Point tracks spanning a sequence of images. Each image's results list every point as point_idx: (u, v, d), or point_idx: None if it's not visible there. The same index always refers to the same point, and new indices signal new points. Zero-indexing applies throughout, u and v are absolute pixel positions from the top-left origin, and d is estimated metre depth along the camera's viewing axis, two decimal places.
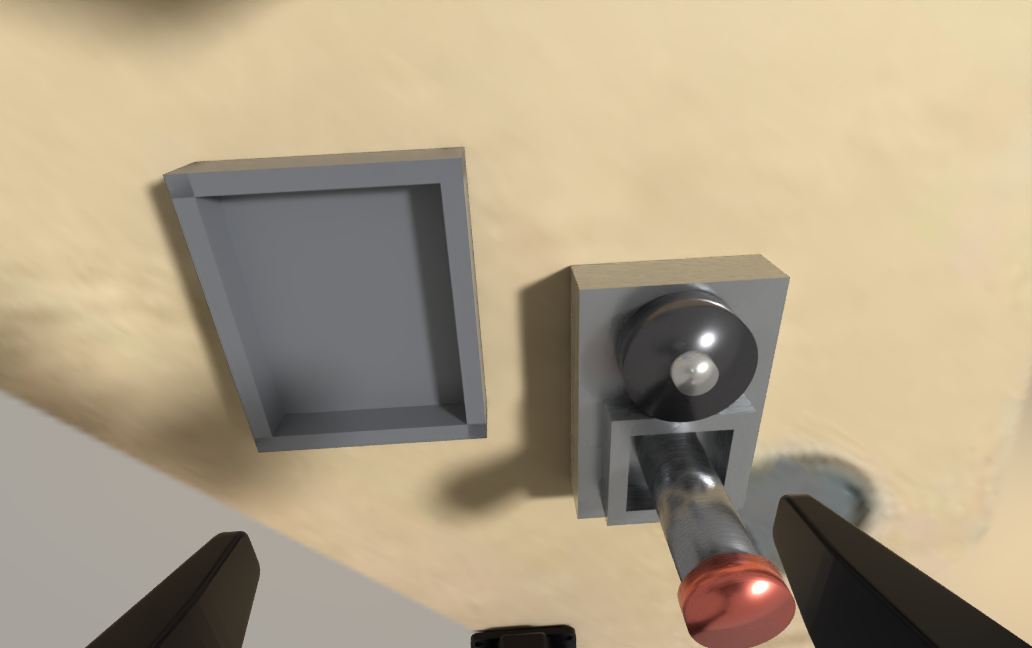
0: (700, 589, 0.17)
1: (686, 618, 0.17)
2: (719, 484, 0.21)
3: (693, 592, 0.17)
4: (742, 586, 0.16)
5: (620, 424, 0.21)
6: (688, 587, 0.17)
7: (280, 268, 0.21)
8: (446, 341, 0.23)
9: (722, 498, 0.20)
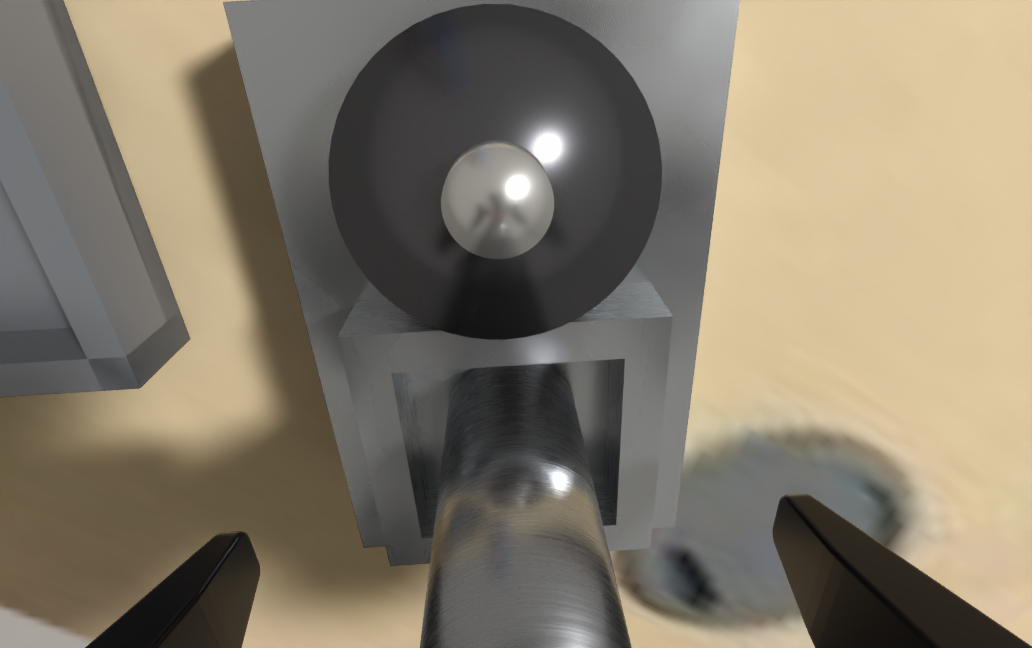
0: None
1: None
2: (573, 482, 0.09)
3: None
4: None
5: (360, 345, 0.09)
6: None
7: None
8: None
9: (565, 518, 0.08)
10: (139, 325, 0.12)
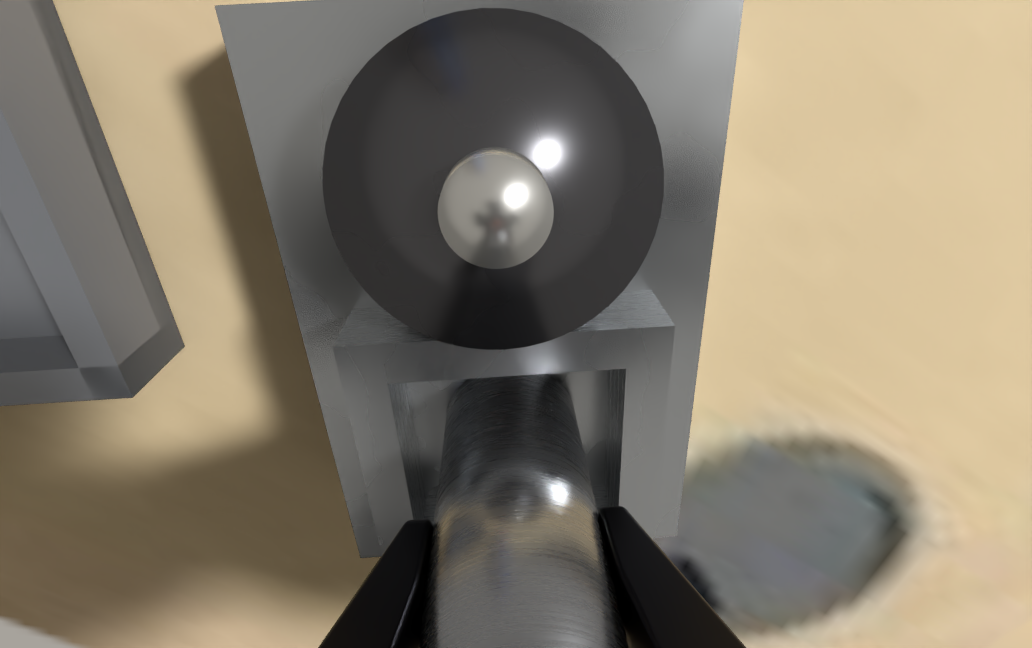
0: None
1: None
2: (574, 496, 0.08)
3: None
4: None
5: (356, 355, 0.09)
6: None
7: None
8: None
9: (565, 534, 0.07)
10: (132, 333, 0.12)
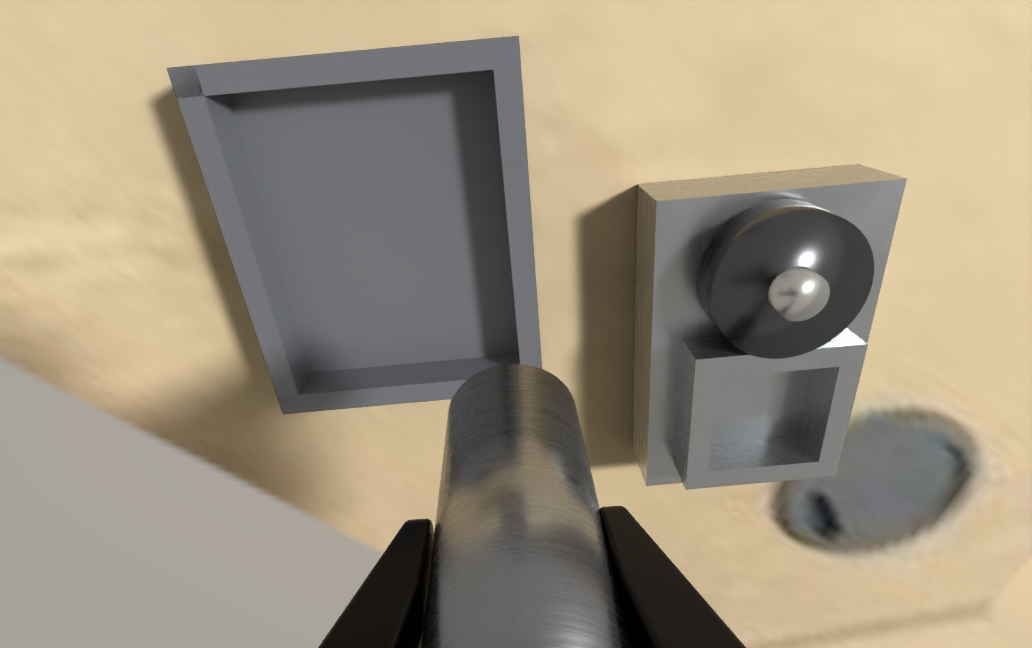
0: None
1: None
2: (576, 495, 0.08)
3: None
4: None
5: (705, 363, 0.18)
6: None
7: (304, 193, 0.19)
8: (494, 279, 0.20)
9: (569, 534, 0.07)
10: None
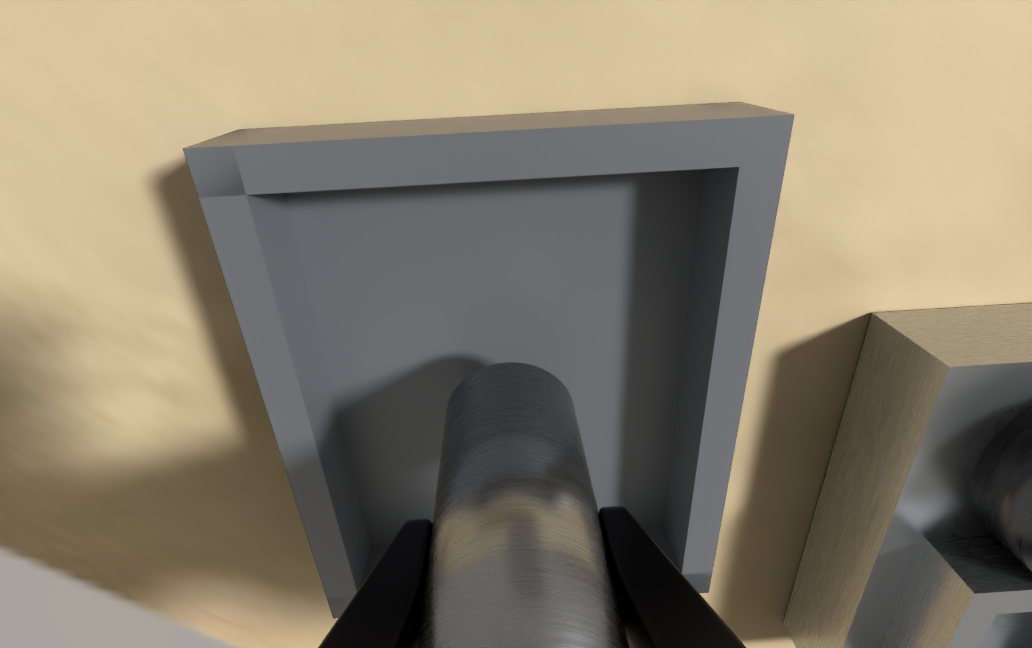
0: None
1: None
2: (573, 493, 0.08)
3: None
4: None
5: (986, 597, 0.12)
6: None
7: (385, 322, 0.12)
8: (648, 436, 0.14)
9: (566, 531, 0.07)
10: None
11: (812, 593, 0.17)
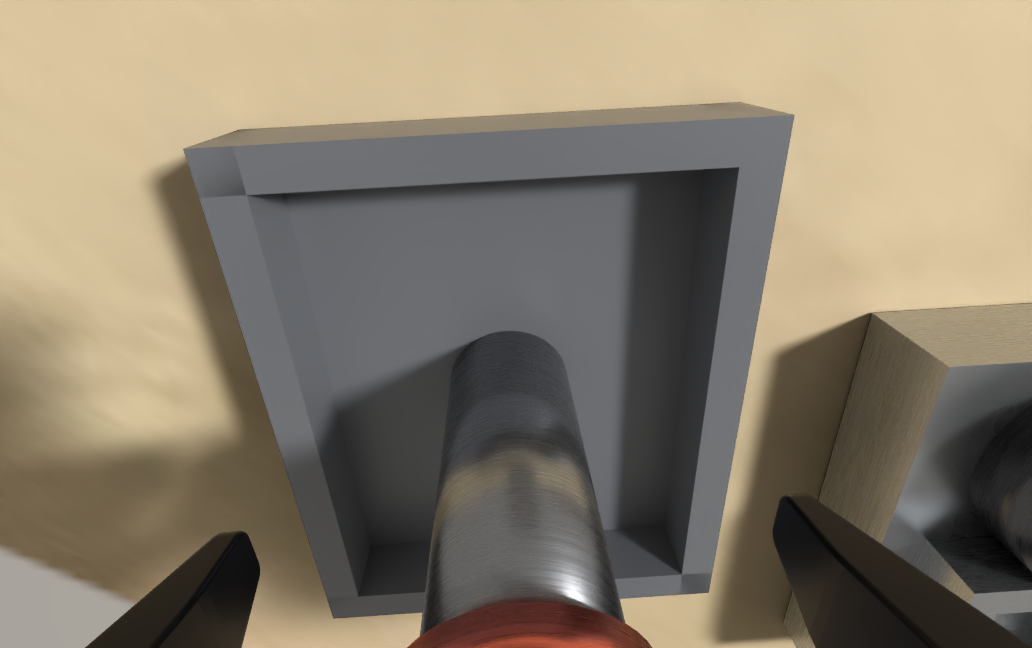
0: None
1: None
2: (564, 435, 0.10)
3: None
4: None
5: (986, 597, 0.12)
6: None
7: (385, 322, 0.12)
8: (648, 436, 0.14)
9: (556, 462, 0.09)
10: None
11: None
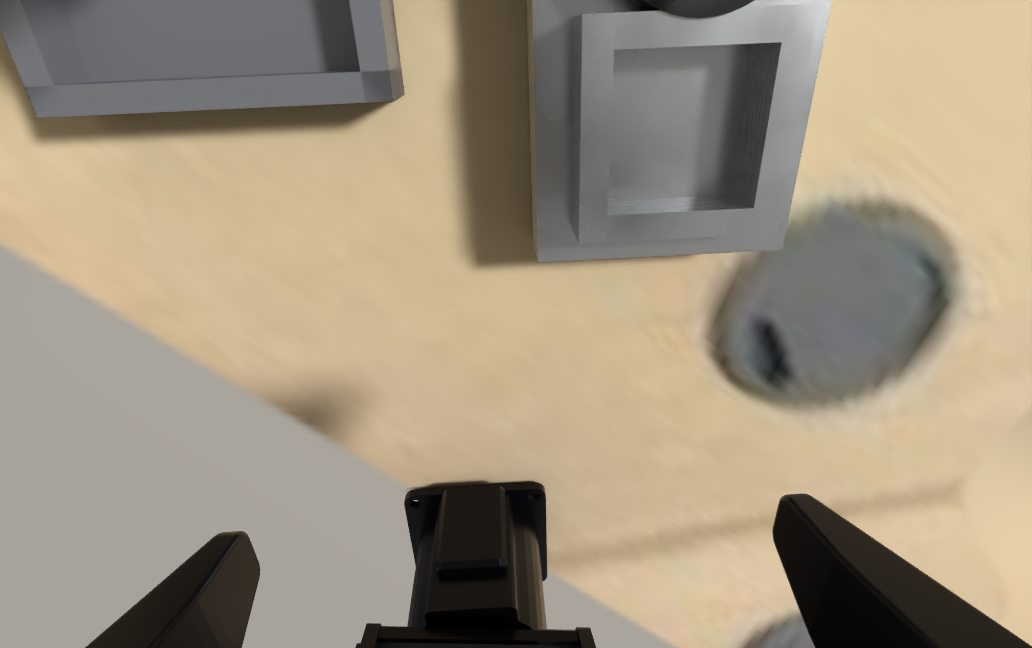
0: None
1: None
2: None
3: None
4: None
5: (596, 22, 0.13)
6: None
7: None
8: None
9: None
10: (391, 55, 0.15)
11: (532, 167, 0.18)
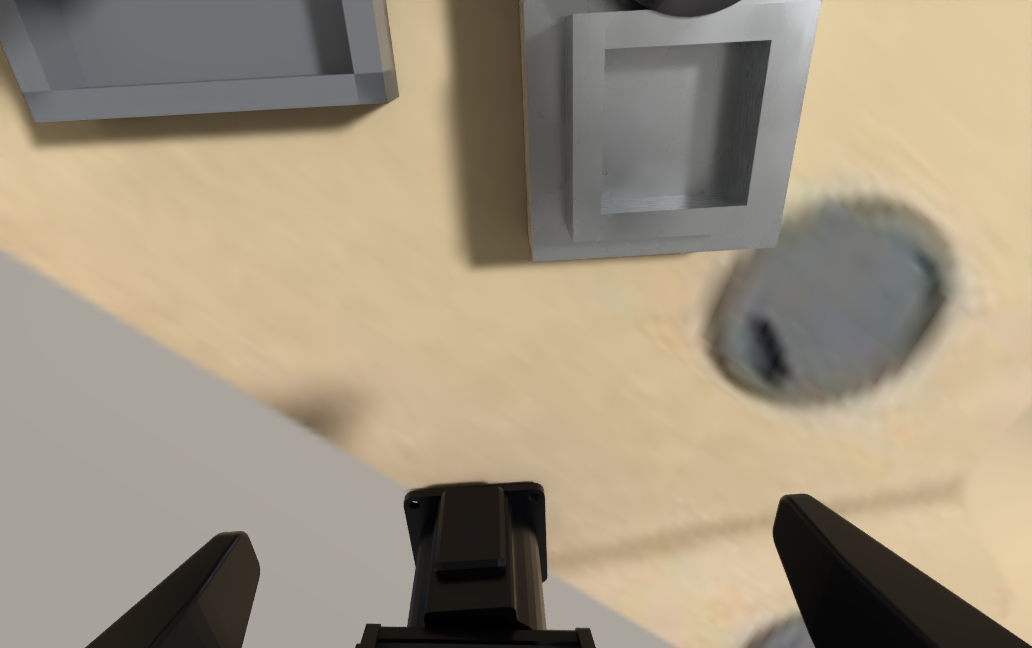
0: None
1: None
2: None
3: None
4: None
5: (587, 22, 0.13)
6: None
7: None
8: None
9: None
10: (385, 57, 0.16)
11: (526, 167, 0.18)
